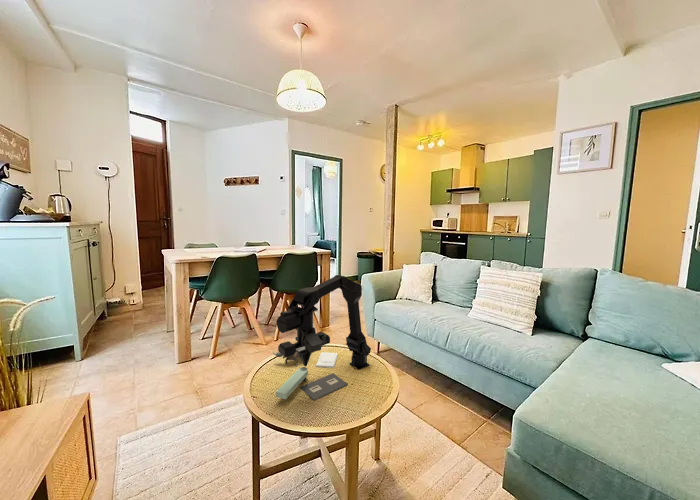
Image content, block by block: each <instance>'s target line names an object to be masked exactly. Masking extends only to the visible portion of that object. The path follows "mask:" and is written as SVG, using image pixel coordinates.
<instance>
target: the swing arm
mask: <svg viewBox="0 0 700 500" xmlns="http://www.w3.org/2000/svg"><path fill="white" fill-rule="evenodd" d="M306 376H309V370H308V367H307V366H303V367H299V368H297V370H295V372H294V373H293V374H292V375H291V376H290V377H289V378H288V379H287V380H286V381H285V382H284V383H283V384H282V385H280V387H279V388H278V389H277V390H276V391H275V398H278V399H283V400H287V399H288V397H289V396H290V395H291V394H292V393H293V392H294V390H296V388H298V386H299V385H300V384H302V381H303V380H304V379H305V377H306Z"/></svg>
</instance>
